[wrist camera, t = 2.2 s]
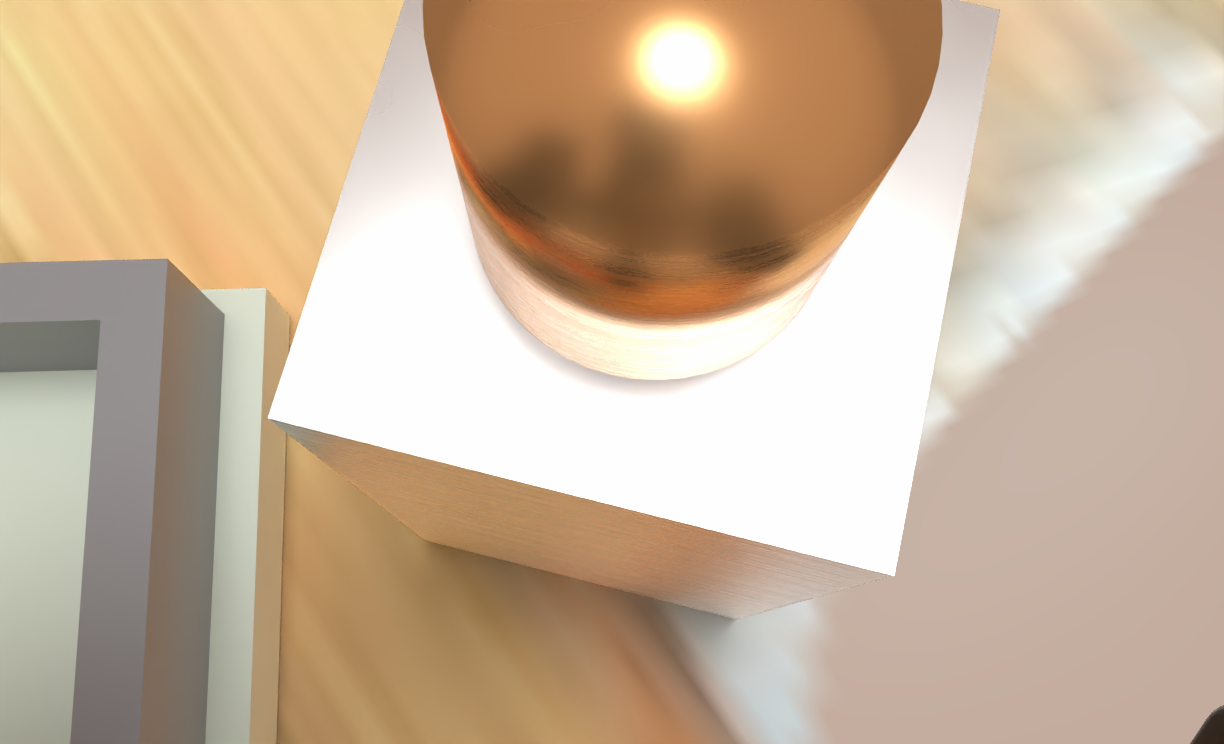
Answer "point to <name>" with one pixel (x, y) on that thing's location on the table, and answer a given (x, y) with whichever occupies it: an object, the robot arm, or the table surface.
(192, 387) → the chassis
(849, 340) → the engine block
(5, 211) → the table surface
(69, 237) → the table surface
